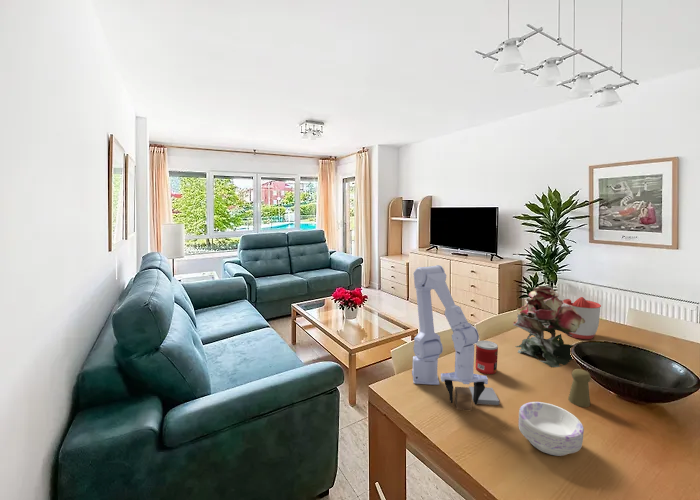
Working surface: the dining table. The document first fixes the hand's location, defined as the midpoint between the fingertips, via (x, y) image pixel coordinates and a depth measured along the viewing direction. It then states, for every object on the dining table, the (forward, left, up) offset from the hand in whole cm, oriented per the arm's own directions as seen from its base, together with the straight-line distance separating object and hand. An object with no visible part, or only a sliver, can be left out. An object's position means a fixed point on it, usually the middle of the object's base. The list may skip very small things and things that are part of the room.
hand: (463, 402), depth 108 cm
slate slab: (+8, +6, -2) cm, 10 cm away
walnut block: (0, 0, -2) cm, 2 cm away
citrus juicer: (+70, +69, -2) cm, 98 cm away
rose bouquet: (+44, +48, -2) cm, 65 cm away
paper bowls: (+20, -15, -2) cm, 25 cm away
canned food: (+14, +26, -2) cm, 30 cm away
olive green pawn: (+39, +7, -2) cm, 40 cm away
